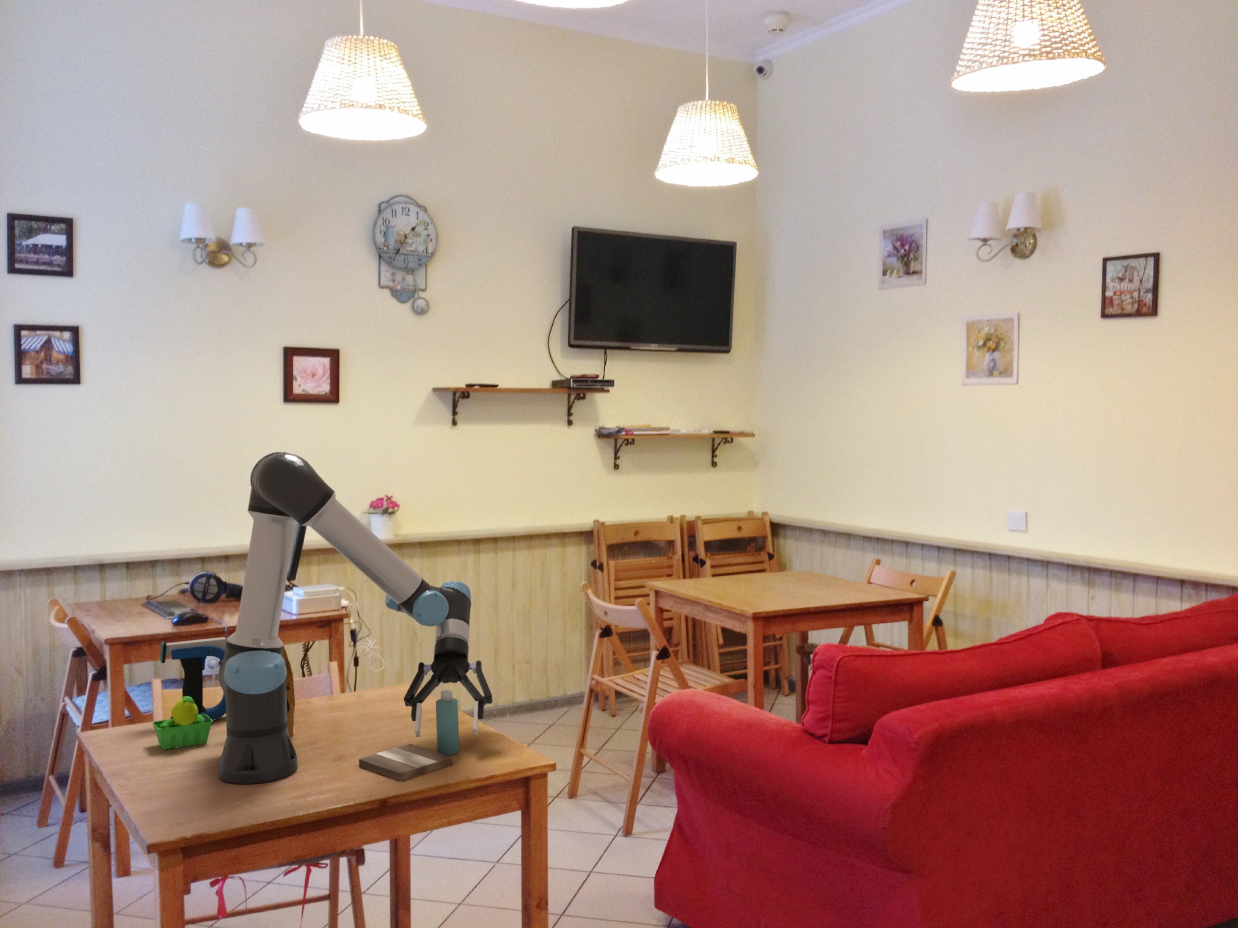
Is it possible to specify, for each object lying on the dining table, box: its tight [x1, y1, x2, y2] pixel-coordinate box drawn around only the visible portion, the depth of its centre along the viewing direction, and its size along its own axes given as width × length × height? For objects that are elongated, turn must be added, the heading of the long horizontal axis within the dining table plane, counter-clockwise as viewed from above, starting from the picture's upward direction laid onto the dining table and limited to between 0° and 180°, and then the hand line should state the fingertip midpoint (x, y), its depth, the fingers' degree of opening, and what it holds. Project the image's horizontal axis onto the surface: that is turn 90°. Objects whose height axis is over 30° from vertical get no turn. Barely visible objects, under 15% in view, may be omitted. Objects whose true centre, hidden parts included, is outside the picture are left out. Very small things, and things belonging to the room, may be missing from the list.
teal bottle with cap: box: [435, 689, 460, 756], centre depth 224 cm, size 5×5×13 cm
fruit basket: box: [152, 696, 214, 751], centre depth 232 cm, size 11×9×11 cm
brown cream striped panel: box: [358, 743, 454, 782], centre depth 216 cm, size 13×14×2 cm
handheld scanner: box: [159, 636, 227, 720], centre depth 251 cm, size 5×16×20 cm, turn 115°
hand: (446, 732), depth 222 cm, fingers open, 11 cm apart
